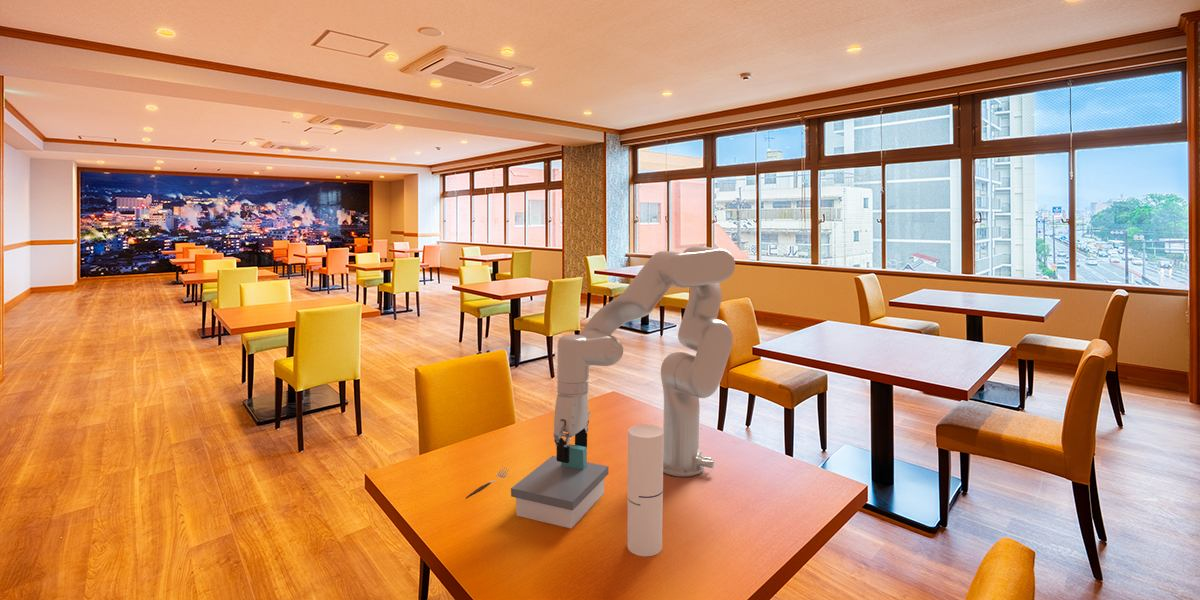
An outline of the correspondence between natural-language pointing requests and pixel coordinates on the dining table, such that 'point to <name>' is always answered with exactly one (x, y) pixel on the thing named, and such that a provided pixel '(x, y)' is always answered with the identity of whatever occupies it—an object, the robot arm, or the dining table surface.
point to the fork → (488, 483)
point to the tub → (558, 509)
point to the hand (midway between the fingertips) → (572, 454)
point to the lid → (561, 480)
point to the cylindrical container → (645, 489)
